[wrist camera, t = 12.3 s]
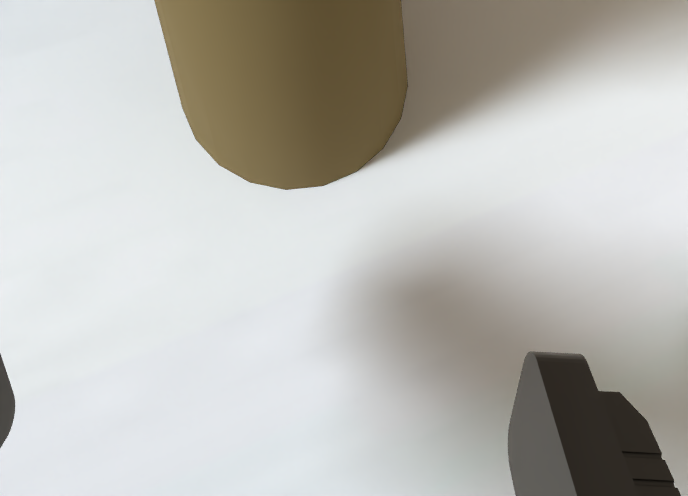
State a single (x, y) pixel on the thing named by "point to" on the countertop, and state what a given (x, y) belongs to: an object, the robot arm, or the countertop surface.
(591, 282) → the countertop surface
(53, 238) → the countertop surface
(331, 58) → the olive pawn figure
